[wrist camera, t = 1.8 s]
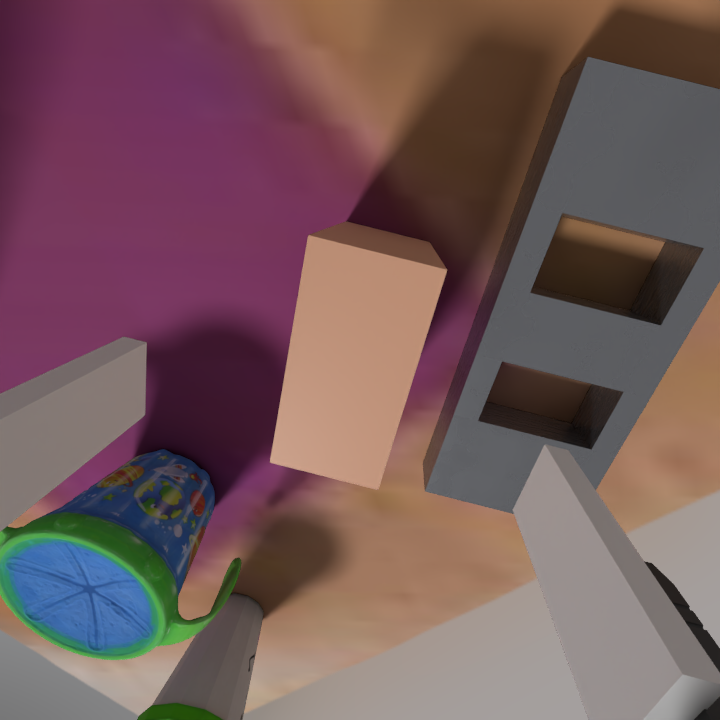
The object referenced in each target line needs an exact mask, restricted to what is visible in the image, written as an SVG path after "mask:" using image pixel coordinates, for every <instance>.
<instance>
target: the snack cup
mask: <svg viewBox="0 0 720 720" xmlns="http://www.w3.org/2000/svg"><path fill="white" fill-rule="evenodd" d="M214 504H215V492H214V488H213V486H212V484H211V482H210V476H209V475H208V473H207V472H206V471H205V470H204V469H200V468H199V467H198V466H197V465H196V464H195V463H194V462H193V461H191V460H189V459H187V458H185V457H183V456H180V455H175V454H173V453H171V452H169V451H167V450H165V449H161V450H158V451H155V452H150V453H146V454H142V455H140V456H137V457H135V458H133V459H132V460H130V461H129V462H127V463H126V464H124V465H123V466H121V467H120V468H118V469H117V470H115V471H114V472H112V473H111V474H109V475H108V476H106V477H105V478H103V479H102V480H101V481H99V482H98V483H96V484H94V485H93V486H91V487H90V488H89V489H88V490H86V491H84V492H82V493H81V494H80V495H78V496H77V497H75V498H74V499H73V500H72V501H70V502H68V503H67V504H65V505H64V506H63V507H61V508H59V509H57V510H55V511H52V512H50V513H48V514H46V515H44V516H42V517H40V518H38V519H36V520H33V521H31V522H30V523H28V524H27V525H25V526H24V527H19V528H12V527H8V526H7V527H5V528H4V529H3V530H2V531H1V532H0V595H1V597H2V598H3V600H4V602H5V603H6V605H7V606H8V607H9V608H10V609H11V610H12V612H13V613H14V614H15V615H16V616H17V617H18V618H19V619H20V620H21V621H22V622H23V623H24V624H25V625H26V626H27V627H29V628H30V629H31V630H33V631H34V632H35V633H37V634H38V635H40V636H41V637H43V638H44V639H46V640H48V641H49V642H51V643H53V644H55V645H57V646H59V647H61V648H63V649H66V650H68V651H71V652H74V653H77V654H80V655H83V656H87V657H92V658H98V659H104V660H121V659H122V660H124V659H131V658H135V657H138V656H141V655H143V654H145V653H147V652H149V651H151V650H152V649H153V648H155V647H156V646H161V645H163V646H164V645H171V644H175V643H179V642H182V641H184V640H186V639H189V638H191V637H192V636H194V635H196V634H197V633H199V632H200V631H201V630H202V629H204V628H205V627H206V626H207V625H208V624H209V623H210V622H211V621H212V620H213V618H214V617H215V616H216V614H217V613H218V612H219V611H220V609H221V608H222V607H223V605H224V604H225V602H226V601H227V599H228V598H229V596H230V594H231V592H232V590H233V588H234V586H235V584H236V581H237V579H238V576H239V572H240V568H241V559H240V558H235V559H234V560H233V561H232V563H231V565H230V566H229V568H228V570H227V572H226V575H225V577H224V580H223V583H222V586H221V588H220V591H219V593H218V595H217V598H216V600H215V602H214V605H213V607H212V609H211V612H210V613H209V614H208V615H206V616H203V617H199V618H196V619H193V620H185V619H183V618H182V617H181V615H180V614H179V612H178V595H179V593H180V591H181V588H182V586H183V583H184V581H185V579H186V576H187V574H188V571H189V569H190V566H191V564H192V562H193V559H194V557H195V555H196V553H197V550H198V548H199V545H200V543H201V541H202V538H203V536H204V533H205V529H206V526H207V524H208V522H209V520H210V519H211V515H212V513H213V510H214Z"/></svg>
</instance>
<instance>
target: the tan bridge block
mask: <svg viewBox="0 0 720 720" xmlns="http://www.w3.org/2000/svg"><path fill="white" fill-rule="evenodd" d="M446 273H447V269H446V267H445V266H444V264H443V262H442V261H441V259H440V258H439V256H438V255H437V253H436V251H435V250H434V248H433V247H432V245H431V244H430V242H427V241H423V240H419V239H415V238H411V237H407V236H403V235H399V234H395V233H391V232H387V231H383V230H379V229H375V228H371V227H367V226H363V225H359V224H355V223H351V222H347V221H346V222H343V223H340V224H338V225H335V226H332V227H329V228H327V229H324V230H321V231H318V232H316V233H313V234H310V235H308V240H307V246H306V251H305V257H304V263H303V269H302V275H301V281H300V287H299V293H298V299H297V305H296V311H295V317H294V322H293V328H292V334H291V340H290V346H289V352H288V358H287V364H286V370H285V376H284V382H283V388H282V393H281V399H280V405H279V411H278V417H277V423H276V429H275V435H274V441H273V447H272V453H271V459H270V463H274V464H278V465H282V466H286V467H290V468H294V469H297V470H301V471H305V472H309V473H313V474H317V475H321V476H325V477H329V478H333V479H337V480H341V481H345V482H348V483H352V484H356V485H360V486H364V487H368V488H372V489H376V490H378V489H379V486H380V483H381V479H382V476H383V473H384V470H385V467H386V464H387V460H388V457H389V454H390V451H391V448H392V444H393V441H394V438H395V435H396V432H397V429H398V425H399V422H400V419H401V416H402V413H403V409H404V406H405V403H406V400H407V397H408V394H409V390H410V387H411V384H412V381H413V378H414V374H415V371H416V368H417V365H418V362H419V359H420V355H421V352H422V349H423V346H424V343H425V339H426V336H427V333H428V330H429V327H430V324H431V320H432V317H433V314H434V311H435V308H436V304H437V301H438V298H439V295H440V292H441V289H442V285H443V282H444V279H445V276H446Z"/></svg>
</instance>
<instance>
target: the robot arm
mask: <svg viewBox="0 0 720 720" xmlns="http://www.w3.org/2000/svg"><path fill="white" fill-rule="evenodd" d="M146 355H147V343H146V342H143V341H139V340H135V339H131V338H127V337H122V338H120V339H118V340H116V341H114V342H111V343H109V344H107V345H105V346H103V347H101V348H98V349H96V350H94V351H92V352H90V353H88V354H85V355H83V356H81V357H79V358H77V359H75V360H72V361H70V362H68V363H66V364H64V365H62V366H59V367H57V368H55V369H53V370H51V371H49V372H46V373H44V374H42V375H40V376H38V377H36V378H33V379H31V380H29V381H27V382H25V383H23V384H20V385H18V386H16V387H14V388H12V389H10V390H7V391H5V392H3V393H1V394H0V532H1V531H2V530H3V529H4V528H5V527H7V526H8V525H9V524H10V523H12V522H13V521H14V520H15V519H17V518H18V517H19V516H20V515H22V514H23V513H24V512H25V511H27V510H28V509H29V508H30V507H32V506H33V505H34V504H35V503H37V502H38V501H39V500H40V499H42V498H43V497H44V496H45V495H47V494H48V493H49V492H50V491H52V490H53V489H54V488H55V487H56V486H58V485H59V484H60V483H61V482H63V481H64V480H65V479H66V478H68V477H69V476H70V475H71V474H73V473H74V472H75V471H76V470H78V469H79V468H80V467H81V466H83V465H84V464H85V463H86V462H88V461H89V460H90V459H91V458H93V457H94V456H95V455H96V454H98V453H99V452H100V451H101V450H103V449H104V448H105V447H106V446H108V445H109V444H110V443H111V442H112V441H114V440H115V439H116V438H117V437H119V436H120V435H121V434H122V433H124V432H125V431H126V430H127V429H129V428H130V427H131V426H132V425H134V424H135V423H136V422H137V421H139V420H140V419H141V418H142V417H144V416H145V398H146ZM513 512H514V515H515V518H516V520H517V523H518V526H519V529H520V532H521V534H522V537H523V540H524V543H525V545H526V548H527V551H528V554H529V556H530V559H531V562H532V565H533V567H534V570H535V573H536V576H537V578H538V581H539V584H540V587H541V589H542V592H543V595H544V598H545V600H546V603H547V606H548V608H549V611H550V614H551V617H552V620H553V622H554V625H555V628H556V631H557V634H558V636H559V639H560V642H561V645H562V647H563V650H564V653H565V655H566V658H567V661H568V664H569V667H570V670H571V672H572V675H573V678H574V680H575V683H576V686H577V689H578V691H579V694H580V697H581V700H582V702H583V705H584V708H585V711H586V714H587V717H588V719H589V720H720V648H719V647H718V645H717V644H716V643H715V641H714V640H713V638H712V637H711V636H710V634H709V633H708V632H707V630H704V629H703V624H702V623H701V622H700V620H699V619H698V617H697V616H696V615H695V613H694V612H693V611H691V610H690V609H689V605H688V604H687V602H686V601H685V599H684V598H683V597H682V595H681V594H680V592H679V591H678V590H677V588H676V587H675V585H674V584H673V583H672V582H671V581H670V580H669V579H668V578H667V577H666V576H665V575H663V574H662V573H661V572H660V571H659V570H658V569H657V568H656V567H655V566H654V565H653V564H652V563H648V562H645V561H643V559H642V558H641V556H640V555H639V553H638V552H637V550H636V549H635V547H634V546H633V545H632V543H631V542H630V540H629V539H628V537H627V536H626V534H625V533H624V531H623V530H622V528H621V527H620V525H619V524H618V522H617V521H616V520H615V518H614V517H613V515H612V514H611V512H610V511H609V509H608V508H607V506H606V505H605V503H604V502H603V500H602V499H601V498H600V496H599V495H598V493H597V492H596V490H595V489H594V487H593V486H592V484H591V483H590V481H589V480H588V478H587V477H586V475H585V474H584V473H583V471H582V470H581V468H580V467H579V465H578V464H577V462H576V461H575V459H574V458H573V456H572V455H571V453H570V452H569V451H568V450H566V449H562V448H558V447H554V446H550V445H546V444H545V445H544V447H543V449H542V451H541V453H540V455H539V457H538V459H537V461H536V463H535V465H534V467H533V469H532V471H531V473H530V475H529V477H528V480H527V482H526V484H525V486H524V488H523V490H522V492H521V494H520V496H519V498H518V500H517V502H516V504H515V506H514V508H513Z"/></svg>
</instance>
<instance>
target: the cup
mask: <svg viewBox="0 0 720 720" xmlns="http://www.w3.org/2000/svg"><path fill="white" fill-rule="evenodd" d="M263 612H264V611H263V610H262V608H261V606H260V605H259V603H258V602H256V601H255V600H253V599H252V598H250V597H249V596H245V595H241V594H237V593H234V594H230V596H229V598H228V599H227V601H226V602H225V604H224V605H223V607H222V608H221V609H220V611H219V612H218V613H217V614H216V616H215V617H214V618H213V620H212V621H211V622H210V623H209V624H208V625H207V626H206V627H205V628H204V629H202V630H201V631H200V632H199V633H197V634H196V636H195V638H194V639H193V641H192V642H191V644H190V646H189V647H188V649H187V650H186V652H185V654H184V655H183V657H182V658H181V660H180V662H179V663H178V665H177V666H176V668H175V670H174V671H173V673H172V674H171V676H170V678H169V679H168V681H167V682H166V684H165V686H164V687H163V689H162V690H161V692H160V693H159V695H158V697H157V698H156V700H155V701H154V703H153V705H152V706H151V707H149V708H148V709H147V710H146V711H144V712H143V713H142V714H141V715H140V716H139V717H138V719H137V720H242V719H243V714H244V709H245V704H246V699H247V694H248V690H249V685H250V680H251V675H252V670H253V665H254V660H255V655H256V650H257V645H258V640H259V635H260V630H261V625H262V620H263Z"/></svg>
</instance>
